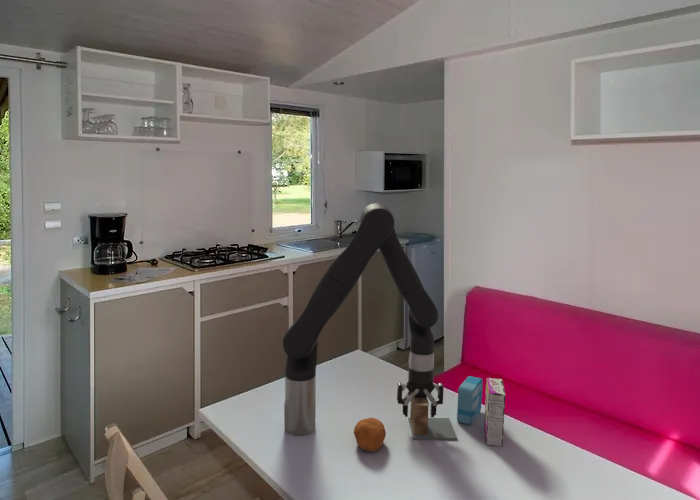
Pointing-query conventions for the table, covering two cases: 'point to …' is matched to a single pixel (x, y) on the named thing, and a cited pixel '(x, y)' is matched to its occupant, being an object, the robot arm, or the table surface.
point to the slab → (419, 415)
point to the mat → (436, 430)
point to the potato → (369, 434)
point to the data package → (469, 400)
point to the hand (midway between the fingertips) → (419, 415)
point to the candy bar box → (494, 412)
